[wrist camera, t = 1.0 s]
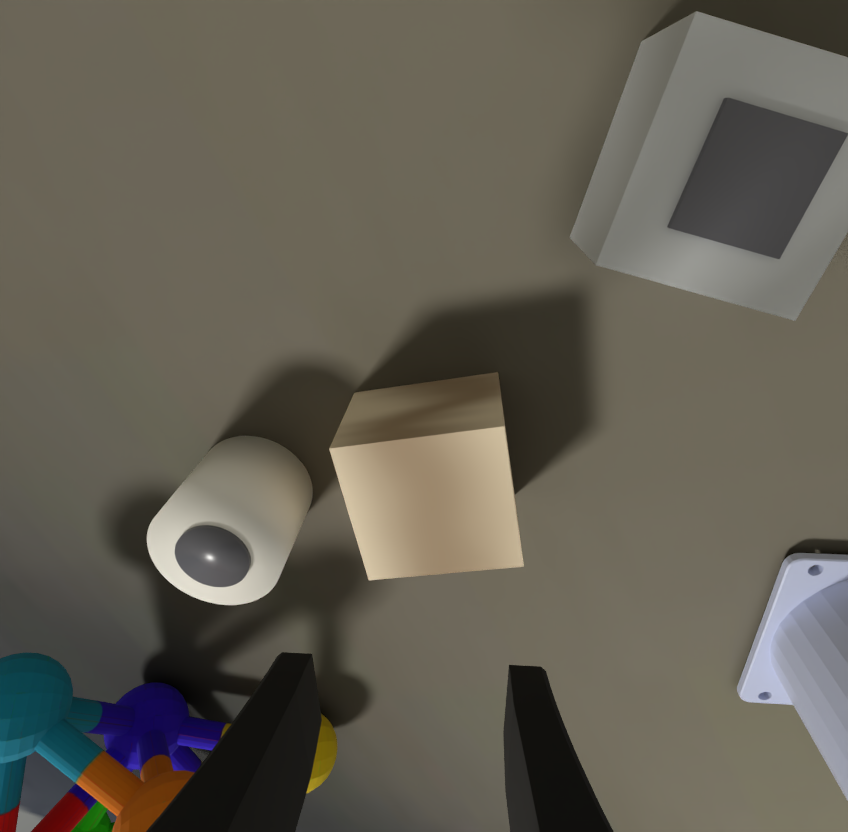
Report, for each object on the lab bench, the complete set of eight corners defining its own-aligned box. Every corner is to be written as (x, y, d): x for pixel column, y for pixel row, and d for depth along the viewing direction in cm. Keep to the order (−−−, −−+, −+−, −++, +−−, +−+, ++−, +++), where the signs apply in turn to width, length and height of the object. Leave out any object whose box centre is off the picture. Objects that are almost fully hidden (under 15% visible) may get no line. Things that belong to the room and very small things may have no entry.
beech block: (497, 370, 19) (504, 426, 15) (514, 492, 21) (523, 566, 17) (354, 390, 19) (329, 448, 16) (385, 506, 21) (368, 580, 18)
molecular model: (346, 599, 28) (-22, 603, 21) (402, 805, 21) (-125, 928, 14) (262, 752, 35) (-39, 798, 27) (284, 948, 28) (-113, 1083, 20)
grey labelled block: (821, 96, 14) (943, 82, 11) (726, 281, 17) (799, 323, 13) (640, 42, 14) (700, 9, 10) (568, 236, 16) (597, 266, 13)
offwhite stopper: (306, 436, 20) (269, 505, 16) (318, 532, 22) (287, 612, 18) (190, 433, 21) (128, 500, 17) (212, 528, 23) (161, 606, 19)
